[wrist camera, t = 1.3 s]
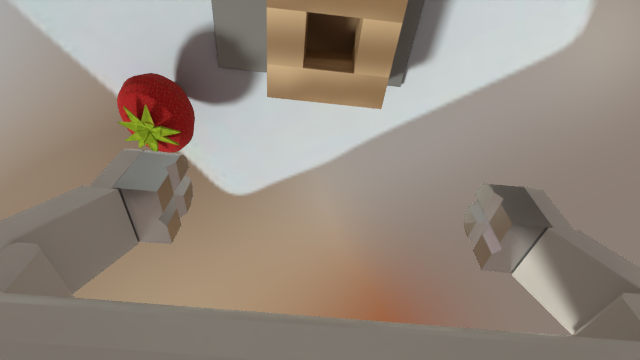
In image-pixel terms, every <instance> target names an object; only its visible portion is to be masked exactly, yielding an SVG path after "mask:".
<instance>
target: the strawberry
mask: <svg viewBox="0 0 640 360" xmlns="http://www.w3.org/2000/svg"><path fill="white" fill-rule="evenodd" d="M117 103H118V109H119V113H120V115H121V117H122V119H123V122H118V123H119V124H121V125H123V126H125V127H127V128H128V130H129V131H130V132H131V133H132V136H130V137H129V138H128V139H126V140H125V141H135V140H139V148H141V147H142V146H144V145H146V146H148V147H150V148H151V150H152V151H156V152H158V151H162V152H168V153H170V152H176V151H179V150H181V149H182V148H183V147H185V146H186V145H187V144H188V143H189V142H190V140H191V139H192V136H193V131H194V121H195V117H194V111H193V107H192V105H191V103H190V101H189V99H188V97H187V95H186V94H185V92H184V91H183V90H182V88H181V87H180V86H179V85H177V84H176V83H175V82H173V81H171V80H169V79H167V78H166V77H164V76H161V75H158V74H152V73H149V74H142V75H137V76H133V77H131V78H129V79H127V80H126V81H125V82H124V84H123V86H122V88H121V90H120V92H119V94H118V99H117Z"/></svg>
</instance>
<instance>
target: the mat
mask: <svg viewBox="0 0 640 360" xmlns="http://www.w3.org/2000/svg"><path fill="white" fill-rule="evenodd" d="M423 4H424V0H408V3H407V7H406V11H405V15H404V19H403V23H402V27H401V31H400V35H399V39H398V43H397V47H396V51H395V55H394V59H393V63H392V67H391V71H390V75H389V79H388V83H387V86H396V87H400V86H401V83H402V79H403V76H404V72H405V68H406V65H407V61H408V58H409V54H410V50H411V47H412V43H413V40H414V36H415V32H416V29H417V25H418V22H419V18H420V14H421V11H422V7H423ZM212 10H213V19H214V28H215V38H216V47H217V56H218V66H219V67H221V68H230V69H239V70H249V71H258V72H267V0H212Z"/></svg>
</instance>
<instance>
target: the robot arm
mask: <svg viewBox="0 0 640 360" xmlns="http://www.w3.org/2000/svg"><path fill="white" fill-rule="evenodd" d="M188 168H189V166H188V161H187V158H186V157H185V156H184V155H182V154H173V153H165V152H156V151H147V150H146V151H144V150H137V149H124V150H122V151H121V152H120V153H119V154H118V155H117V156H116V157H115V158H114V159H113V160H112V161H111V163H110V164H109V165H108V166H107V167H106V168H105V169H104V170H103V172H101V174H100V175H99V176H98V177H97V178H96V179H95V180H94V182H92V183H91V185H90V186H81V187H78V188H76V189H74V190H71V191H69V192H67V193H64V194H62V195H60V196H57V197H55V198H52V199H50V200H48V201H45V202H43V203H41V204H38V205H36V206H34V207H31V208H29V209H27V210H25V211H22V212H20V213H17V214H15V215H13V216H10V217H8V218H6V219H3V220H1V221H0V360H640V267H638V266H637V265H635V264H633V263H631V262H630V261H628V260H627V259H625V258H624V257H622V256H620V255H619V254H617V253H616V252H614V251H612V250H611V249H609V248H607V247H606V246H604V245H603V244H601V243H599V242H598V241H596V240H594V239H593V238H591V237H589V236H588V235H586V234H585V233H583V232H581V231H579V230H574V229H573V228H572V227H571V225H570V224H569V223H568V221H567V220H566V219H565V218H564V217H563V215H562V214H561V213H560V211H559V210H558V209H557V207H556V206H555V205H554V204H553V202H552V201H551V200H550V198H549V197H548V196H547V195H546V193H545V192H544V191H543V190H541V189H540V188H537V187H525V186H519V187H516V186H505V185H494V184H482V185H481V186H480V187H479V188H478V190H477V192H476V194H475V195H476V199H477V201H476V202H474V203H473V204H471V205H470V206H469V207H468V209H467V211H466V213H465V217H464V229H465V232H466V235H467V237H468V239H470V240H471V241H472V242H473V243H474V244H476V245H475V247H474V249H473V252H474V254H475V256H476V258H477V261H478V263H479V265H480V268H481V270H486V271H495V272H505V273H513V274H512V276H513V277H515V278H516V279H517V281H518V282H520V284H521V285H522V286H524V287H525V288H526V290H528V291H529V292H530V293H531V294H532V295H533V296H534V297H535V298H536V299H537V300H538V301H539V302H540V303H541V304H542V305H543V306H544V307H545V308H546V309H547V310H548V311H549V312H550V313H551V314H552V315H553V316H554V317H555V318H556V319H557V320H558V321H559V322H560V323H561V324H562V325H563V326H564V327H565V328H566V329H567V330H568V331H569V332H570V333H571V334H572V336H565V335H551V334H539V333H526V332H513V331H500V330H487V329H473V328H460V327H446V326H433V325H420V324H406V323H393V322H380V321H368V320H355V319H342V318H329V317H316V316H302V315H291V314H278V313H265V312H251V311H238V310H225V309H213V308H200V307H186V306H174V305H160V304H147V303H134V302H122V301H109V300H96V299H82V298H75V297H74V296H73V295H72V294H73V293H74V292H76V291H77V290H78V289H80V288H81V287H82V286H84V285H85V284H86V283H87V282H89V281H90V280H91V279H93V278H94V277H95V276H97V275H98V274H99V273H101V272H102V271H103V270H105V269H106V268H107V267H109V266H110V265H111V264H113V263H114V262H115V261H116V260H118V259H119V258H120V257H122V256H123V255H124V254H126V253H127V252H128V251H130V250H131V249H132V248H133V247H135V246H136V245H138V244H139V243H138V242H149V243H166V244H172V242H173V241H174V238H175V236H176V235H177V232H178V230H179V229H180V226H181V222H180V217H182V216H183V215H185V214H186V213H187V212H188V210H189V207H190V205H191V201H192V196H193V188H192V181H191V180H190V179H189V178H188V177H187V176H186V175H185V174H186V172H187V170H188Z"/></svg>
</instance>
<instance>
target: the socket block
mask: <svg viewBox="0 0 640 360" xmlns="http://www.w3.org/2000/svg"><path fill="white" fill-rule="evenodd" d="M407 3H408V0H267V97H272V98H282V99H291V100H301V101H310V102H320V103H329V104H339V105H348V106H358V107H367V108H377V109H381V108H382V104H383V100H384V96H385V91H386V87H387V83H388V79H389V75H390V71H391V67H392V63H393V59H394V55H395V51H396V47H397V43H398V39H399V35H400V31H401V27H402V23H403V19H404V15H405V11H406V7H407Z"/></svg>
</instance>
